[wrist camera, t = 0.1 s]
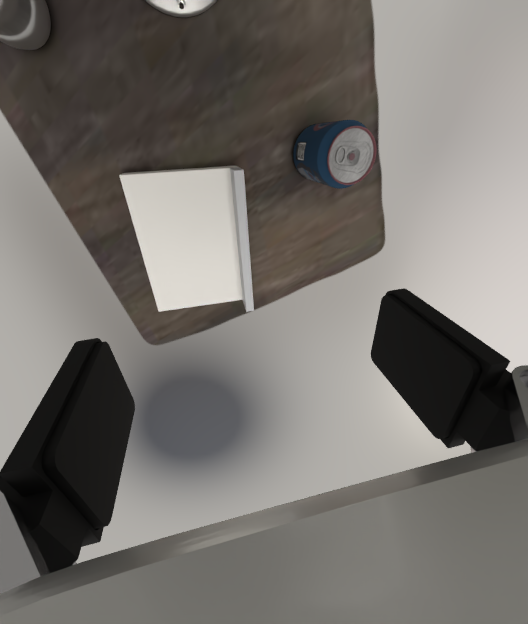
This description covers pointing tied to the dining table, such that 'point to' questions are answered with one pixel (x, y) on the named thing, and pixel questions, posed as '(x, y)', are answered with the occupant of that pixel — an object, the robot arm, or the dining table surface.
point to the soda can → (335, 153)
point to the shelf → (192, 234)
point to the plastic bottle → (24, 23)
